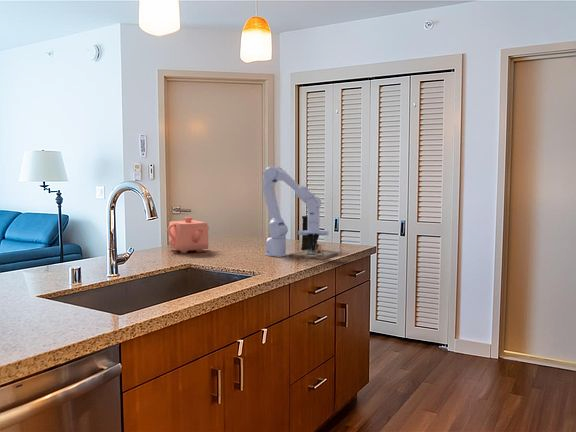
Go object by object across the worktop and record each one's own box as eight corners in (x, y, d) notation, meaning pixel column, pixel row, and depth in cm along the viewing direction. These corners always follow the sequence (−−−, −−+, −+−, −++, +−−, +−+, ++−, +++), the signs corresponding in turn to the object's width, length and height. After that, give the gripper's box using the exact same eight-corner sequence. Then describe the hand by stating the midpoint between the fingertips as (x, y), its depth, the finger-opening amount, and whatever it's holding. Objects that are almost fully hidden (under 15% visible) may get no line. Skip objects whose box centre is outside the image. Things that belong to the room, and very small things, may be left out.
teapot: (222, 253, 263) (221, 218, 261) (180, 257, 250) (179, 220, 248) (201, 247, 283) (200, 214, 282) (161, 250, 270) (161, 216, 269)
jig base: (288, 256, 253) (288, 244, 252) (306, 252, 268) (307, 240, 268) (321, 260, 244) (321, 247, 243) (338, 255, 259) (338, 242, 258)
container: (320, 249, 278) (321, 216, 276) (312, 251, 270) (312, 217, 269) (306, 247, 283) (306, 215, 281) (297, 249, 275) (298, 216, 274)
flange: (303, 252, 258) (303, 241, 258) (318, 251, 261) (318, 241, 260) (312, 255, 247) (312, 245, 246) (327, 255, 249) (327, 244, 249)
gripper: (297, 222, 244) (297, 250, 246) (328, 222, 243) (328, 251, 244) (298, 221, 251) (298, 248, 253) (328, 221, 250) (328, 249, 251)
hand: (313, 250), depth 249 cm, fingers closed
